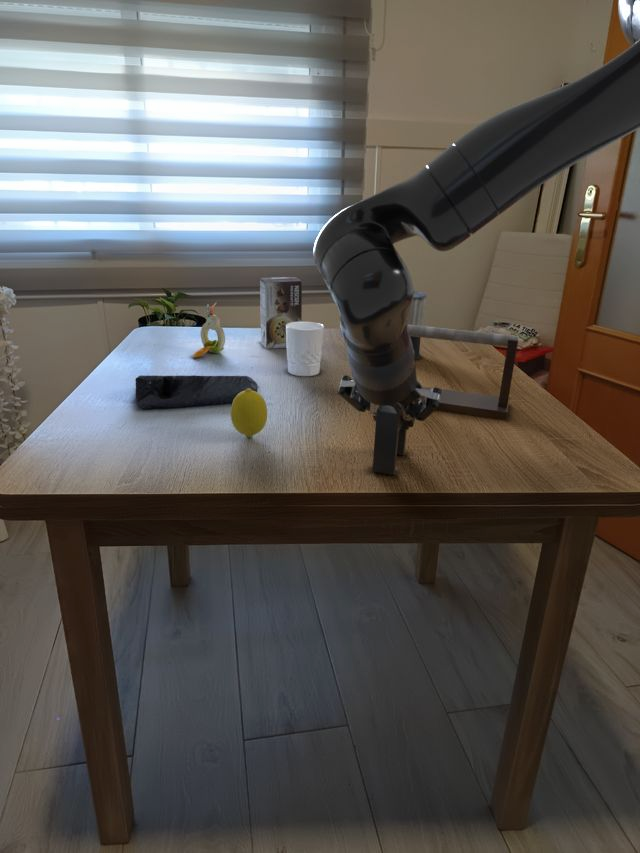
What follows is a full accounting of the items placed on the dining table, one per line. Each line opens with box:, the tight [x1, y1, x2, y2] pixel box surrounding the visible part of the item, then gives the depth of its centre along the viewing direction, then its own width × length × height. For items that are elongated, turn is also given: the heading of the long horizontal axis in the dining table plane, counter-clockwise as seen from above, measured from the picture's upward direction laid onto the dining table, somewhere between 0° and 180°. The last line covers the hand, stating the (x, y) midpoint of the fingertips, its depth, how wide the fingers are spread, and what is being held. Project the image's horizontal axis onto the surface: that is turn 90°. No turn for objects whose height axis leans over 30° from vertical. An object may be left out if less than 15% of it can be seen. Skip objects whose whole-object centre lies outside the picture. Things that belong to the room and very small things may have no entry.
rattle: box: [192, 301, 226, 359], centre depth 131 cm, size 8×8×12 cm
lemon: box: [230, 388, 268, 439], centre depth 88 cm, size 6×6×8 cm
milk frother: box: [407, 290, 428, 360], centre depth 132 cm, size 14×16×15 cm
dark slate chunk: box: [135, 374, 259, 410], centre depth 105 cm, size 15×22×5 cm
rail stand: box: [408, 325, 520, 421], centre depth 104 cm, size 22×8×14 cm, turn 71°
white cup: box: [286, 320, 325, 377], centre depth 120 cm, size 8×8×10 cm
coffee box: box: [259, 276, 303, 350], centre depth 139 cm, size 9×6×16 cm
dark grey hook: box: [371, 405, 408, 476], centre depth 81 cm, size 3×8×9 cm, turn 161°
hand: (395, 421), depth 82 cm, fingers closed on dark grey hook, 3 cm apart
